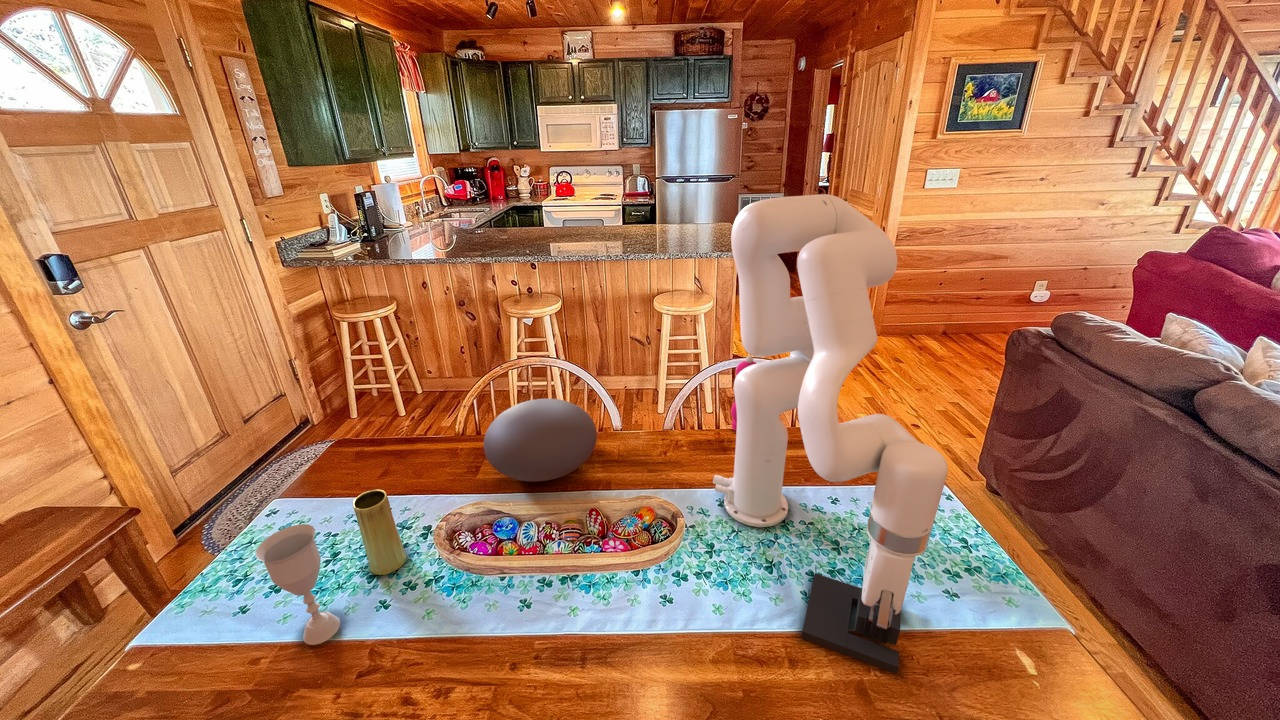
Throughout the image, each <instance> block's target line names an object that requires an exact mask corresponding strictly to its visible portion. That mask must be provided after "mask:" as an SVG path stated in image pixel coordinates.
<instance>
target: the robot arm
mask: <svg viewBox="0 0 1280 720" xmlns="http://www.w3.org/2000/svg"><path fill="white" fill-rule="evenodd" d="M730 235H731V236H730V242H731V243H730V244H731V252H732V257H733V260H734V265H735V268H736V272H737V273H736V274H737V277H738V286H739V287H738V297H739V300H738V301H739V326H740V339H741V344H742V347H743V349H744V351H745V352H746V353H747V354H748V355H749V356H751V357H755V358H766V357H773V356H777V355H784V354H787V353H789V356H786V357H781V358H775V359H769V360H766V361H761V362H756V363H757V364H754V365H751V366H748V367H746V368H745V369H743V370H742V371H741V372H739V374H738V375H736V377H735V378H734V382H733V395H734V402H736V410H737V431H735V432H736V433H735V448H734V449H735V451H734V465H733V476H730V477H729V478H728V477H724V476H722V475H719V474H714V476H713V478H712V483H713V485H715V486H714V491H715V492H717V493H722V494H724V498H723V504H724V508H725V510H726V512H727V513H728V515H729V516H731V518H732V519H734V520H736V521H737V522H739V523H741V524H743V525H745V526H749V527H754V528H769V527H773V526H776V525H778V524H780V523H782V522H783V521H784V520H785V519H786V518H787V515H788V512H789V503H788V499H787V498H786V497H785V495H784V494H783V484H784V476H785V469H786V460H787V450H788V441H789V432H788V428H787V426H786V425H785V423H784V422H783V421H782V419H781V415H782V414H783V413H785V412H789V411H791V410H794V409H797V418H798V425H799V429H800V433H801V438H802V442H803V447H804V451H805V454H806V457H807V459H808V462H809V464H810V466H811V467H812V469H813V471H814V472H815V473H816V474H817V475H818V476H819V477H820V478H821V479H824V480H826V481H828V482H830V483H842V482H846V481H850V480H853V479H857V478H859V477H862V476H865V475H868V474H870V473H877V477H876V480H875V481H876V482H875V486H874V491H873V496H872V500H871V506H870V510H869V514H868V519H867V524H866V533H867V536H868V537H869V539H870V542H869V546H868V549H867V554H866V557H865V561H864V570H863V579H862V586H861V588H862V602H863V603H864V605H867V606H870V607H871V608H870V613H869V614H867V617H866V621H865V625H864V630H863V634H862V636H863V637H865V638H867V639H870V640H872V641H874V642H875V641H876V642H878V643H882V644H888V643H887V640H888V637H889V633H890V629H891V625H892V622H891V620H892V615H893V613H894V615H896V614H898V613H899V612H900V610H901V611H902V607H903V604H904V601H905V597H906V593H907V589H908V586H909V582H910V578H911V573H912V571H913V566H914V562H915V558H916V557H918V556H921V555H923V554H924V553H925V552H926V551H927V548H928V545H929V541H930V537H931V534H932V531H933V527H934V523H935V519H936V516H937V513H938V510H939V505H940V501H941V498H942V495H943V491H944V488H945V483H946V481H947V476H948V471H949V466H948V462H947V460H946V458H945V457H944V455H943V454H942V453H941V452H940V451H938V450H937V449H935V448H934V447H932V446H930V445H928V444H926V443H922V442H920V441H919V440H918V439H917V438H915V436H913V435H912V434H911V433H910V432H909V431H908V430H907V429H906V428H905V427H904V426H903V425H902V424H901V423H900V422H899V421H898V420H896V419H895V418H893V417H892V416H890V415H887V414H884V413H873V414H869V415H865V416H862V417H859V418H855V419H851V420H847V421H844V422H840V423H839V416H838V401H839V395H840V392H841V389H842V387H843V385H844V382H845V381H846V379H847V377H848V376H849V375H850V373H851V372H852V371H853V370H854V369H855V368H856V367H857V366H858V365H859V363H861V361H862V360H863V359H864V358H865V357H866V356H867V355H868V354H869V353H870V352H871V351H872V350H873V349H874V348H875V347H876V345H877V343H878V334H877V329H876V324H875V320H874V315H873V310H872V305H871V300H870V295H869V291H868V289H871V288H876V287H877V288H878V287H880V286H884V285H885V284H886V283H888V282H890V280H891V279H892V278H893V277H894V275H895V273H896V271H897V267H898V254H897V253H898V252H897V250H896V248H895V245H894V243H893V241H892V240H891V238H890V237H889V236H888V234H887V233H886V232H885V231H884V230H883V229H882V228H881V227H880V226H878V225H877V224H876V223H875V222H873V220H871V219H870V218H868V217H867V216H866V215H864V214H863V213H862V212H860V211H859V210H858V209H857V208H855V207H854V206H853V205H851V204H850V203H849V202H847V201H846V200H844V199H843V198H842V197H839V196H836V195H833V194H829V193H827V194H825V193H822V194H807V195H806V194H805V195H793V196H792V195H791V196H790V195H789V196H780V197H771V198H765V199H760V200H757V201H754V202H751V203H750V204H748V205H746V206H744V207H743V208H742V209H741V210H740V211H739V212H738V214H737V215H736V216H735V219H734V222H733V224H732V228H731V234H730ZM796 252H799V253H798V255H797V258H796V269H797V275H798V280H799V283H800V289H801V294H802V295H801V296H794V297H791V277H790V273H789V270H788V267H786V265H785V263H784V262H783V260H782V259H781V257H780V256H779V254H785V253H796ZM880 598H881V599H880ZM879 599H880V600H879ZM875 607H879V612H878V614H875Z"/></svg>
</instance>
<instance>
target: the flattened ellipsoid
mask: <svg viewBox="0 0 1280 720" xmlns="http://www.w3.org/2000/svg"><path fill="white" fill-rule="evenodd" d="M597 439H598V432H597V426H596V424H595V422H594V420H593V418H592V417H591V416H590V414H589V413H588V412H587V411H586V410H585V409H583V408H582V407H580V406H578V405H577V404H575V403H573V402H569V401H566V400H563V399H559V398H535V399H530V400H525V401H522V402H519V403H516V404H514V405H513V406H511V407H508V408H507V409H504V411H502V412H501V413H500V414H498V415H497V416H496V418H494V420H493V421H492V422H491V423H490V424H489V426H488V428H487V429H486V432H485V434H484V437H483V452H484V455H485V458H486V460H487V461H488V463H489V464H490V465H491V466H492V468H494V469H495V470H496V471H497V472H498V473H500V474H502V475H504V476H506V477H507V478H510V479H513V480H516V481H522V482H529V483H531V482H532V483H533V482H534V483H535V482H536V483H537V482H548V481H551V480H556V479H559V478H563V477H565V476H566V475H569V474H571V473H573V472H574V471H576V470H577V469H579V468H580V467H582V465H584V464H585V462H586V461H587V460H589V458H591V456H592V453H593V451H594V450H595V448H596V445H597Z"/></svg>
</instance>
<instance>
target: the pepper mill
mask: <svg viewBox="0 0 1280 720" xmlns="http://www.w3.org/2000/svg"><path fill="white" fill-rule="evenodd" d="M753 357H754V356H752V355H747V356H746V357H745V360H744V361H741V362H740V363H738V365H737V366H736V369H735V375H736V376H737V375H738V374H739V372H741V371H742V370H743V369H745V368H746V367H748V366H751V365H754V364H757V363H758V362H756V361H754V358H753ZM730 415H731V416H730V417H731V418H732V420H731V428H732V430H733V431H734V432H736V431H737V410H736V402H735V401H734V402H733V403H732V405H731V408H730Z"/></svg>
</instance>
